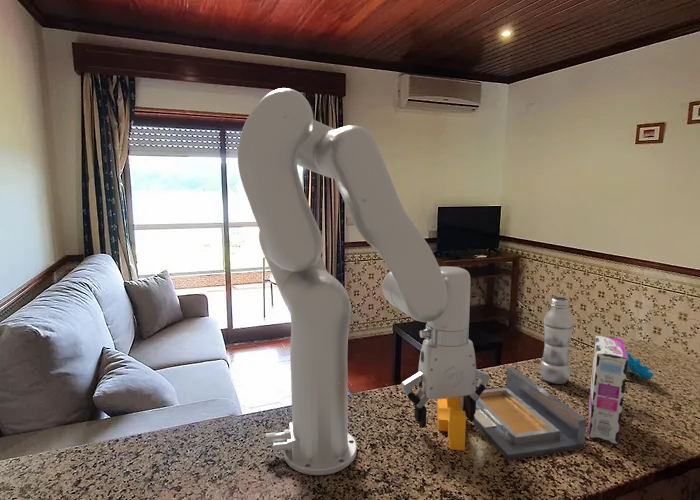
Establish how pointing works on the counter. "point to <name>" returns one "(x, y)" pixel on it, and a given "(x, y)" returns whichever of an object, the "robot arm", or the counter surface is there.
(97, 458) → the counter surface
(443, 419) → the orange notched block
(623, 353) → the candy bar box
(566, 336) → the plastic bottle
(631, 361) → the gear
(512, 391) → the grey tray with recess
